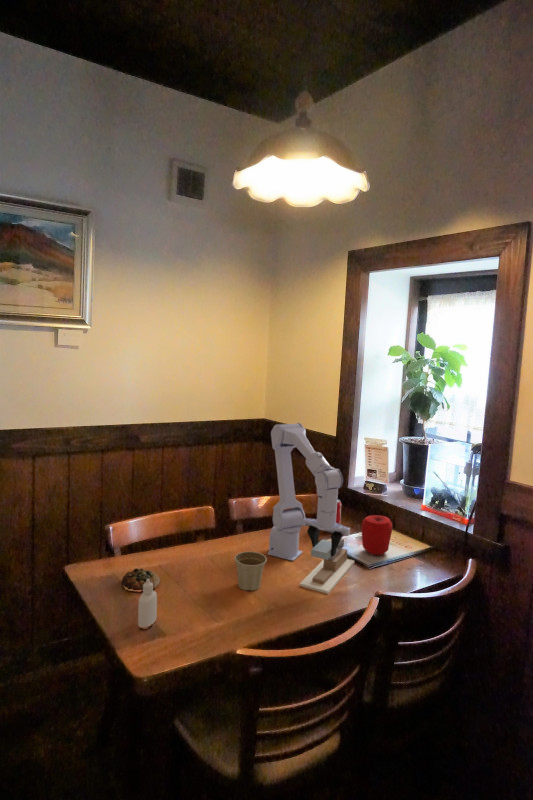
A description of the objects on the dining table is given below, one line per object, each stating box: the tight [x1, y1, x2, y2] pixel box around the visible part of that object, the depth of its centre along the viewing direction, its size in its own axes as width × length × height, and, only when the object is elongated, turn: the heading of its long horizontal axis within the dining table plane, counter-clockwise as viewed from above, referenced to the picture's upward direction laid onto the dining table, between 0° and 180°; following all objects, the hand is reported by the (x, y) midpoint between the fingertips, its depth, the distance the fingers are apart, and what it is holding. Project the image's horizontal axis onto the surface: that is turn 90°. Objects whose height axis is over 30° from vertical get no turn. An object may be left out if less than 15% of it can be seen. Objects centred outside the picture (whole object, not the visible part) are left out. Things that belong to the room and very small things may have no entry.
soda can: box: [324, 498, 342, 534], centre depth 200 cm, size 6×6×12 cm
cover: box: [310, 539, 337, 560], centre depth 159 cm, size 5×9×2 cm, turn 153°
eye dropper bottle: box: [137, 579, 158, 627], centre depth 132 cm, size 4×6×12 cm
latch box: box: [299, 548, 355, 595], centre depth 164 cm, size 9×24×4 cm, turn 153°
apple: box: [361, 514, 393, 556], centre depth 181 cm, size 11×10×14 cm
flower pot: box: [233, 551, 268, 592], centre depth 154 cm, size 9×9×9 cm
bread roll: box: [121, 568, 161, 590], centre depth 153 cm, size 11×11×5 cm
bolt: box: [328, 537, 345, 560], centre depth 169 cm, size 2×9×4 cm, turn 153°
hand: (324, 553), depth 159 cm, fingers closed on cover, 5 cm apart
